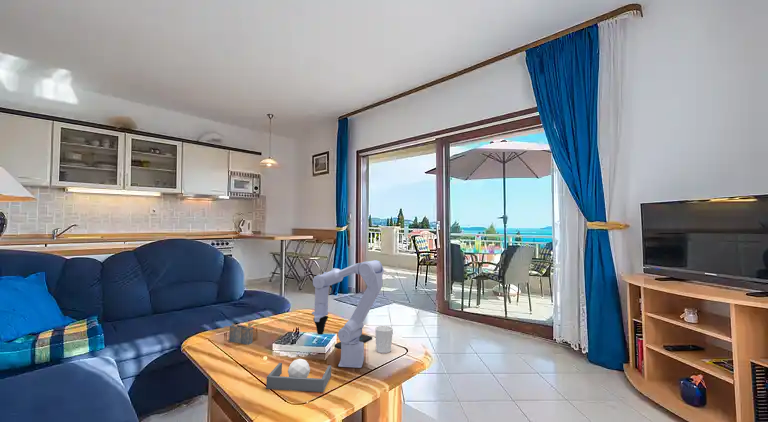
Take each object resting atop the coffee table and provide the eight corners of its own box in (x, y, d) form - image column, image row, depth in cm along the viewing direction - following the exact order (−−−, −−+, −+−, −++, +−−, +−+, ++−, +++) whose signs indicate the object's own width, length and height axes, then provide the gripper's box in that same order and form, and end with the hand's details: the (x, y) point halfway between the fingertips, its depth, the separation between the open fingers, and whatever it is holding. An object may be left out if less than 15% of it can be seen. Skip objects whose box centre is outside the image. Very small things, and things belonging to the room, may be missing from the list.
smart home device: (373, 336, 167) (347, 348, 151) (373, 340, 167) (347, 352, 151) (360, 333, 172) (333, 344, 155) (360, 336, 172) (333, 348, 155)
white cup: (372, 352, 151) (372, 329, 151) (378, 346, 158) (379, 324, 158) (388, 355, 148) (388, 332, 148) (394, 348, 155) (395, 327, 155)
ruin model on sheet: (252, 343, 158) (253, 322, 159) (248, 345, 155) (249, 324, 156) (233, 340, 162) (234, 319, 162) (229, 342, 159) (230, 321, 159)
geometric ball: (300, 391, 120) (299, 379, 115) (283, 378, 123) (282, 367, 118) (314, 373, 125) (314, 362, 121) (298, 362, 128) (297, 350, 124)
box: (331, 376, 126) (331, 365, 126) (323, 392, 114) (323, 380, 114) (279, 373, 127) (279, 362, 127) (266, 388, 115) (266, 376, 115)
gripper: (316, 298, 153) (315, 328, 152) (307, 306, 138) (306, 339, 138) (332, 298, 152) (331, 329, 152) (324, 306, 138) (323, 340, 137)
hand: (320, 333), depth 145 cm, fingers closed
